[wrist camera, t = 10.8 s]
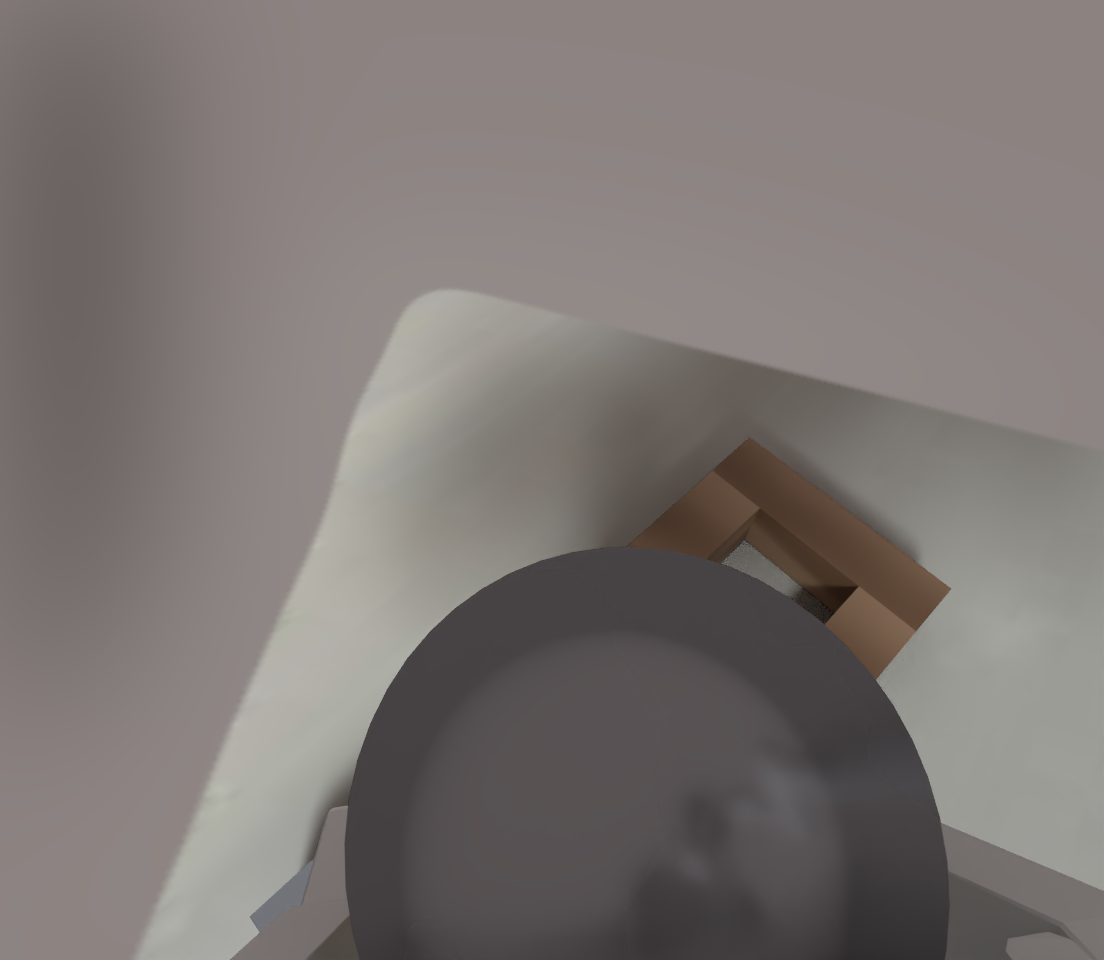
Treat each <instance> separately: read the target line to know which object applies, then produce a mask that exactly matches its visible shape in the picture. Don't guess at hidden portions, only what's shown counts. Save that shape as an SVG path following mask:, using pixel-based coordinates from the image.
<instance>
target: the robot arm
mask: <svg viewBox="0 0 1104 960" xmlns="http://www.w3.org/2000/svg"><path fill="white" fill-rule="evenodd" d="M347 811H348V806H341V807H334V808H332V809H331V810H330V811H329V812H328V813H327V815H326V818H325V822H324V825H323V828H322V832H321V835H320V839H319V842H318V846H317V849H316V853H315V856H314V860H313V863H312V867H311V870H310V874H309V877H308V881H307V884H306V888H305V891H304V895H303V898H302V902H301V905H300V906H294V907H288V908H286V909H285V910H284V911H283V912H282V913H281V914H280V915H279V916H278V917H276V918H275V919H274V920H273V921H272V922H271V923H270V924H269V925H268V926H267V927H265V928H264V929H263V930H262V931H261V932H260V933H259V934H258V935H257V936H256V937H254V938H253V939H252V940H251V941H250V942H249V943H248V944H247V945H246V946H245V947H244V948H242V949H241V950H240V951H239V952H238V953H237V954H236V955H235V956H234V957H233V958H231V959H230V960H360V959H359V956H358V952H357V948H356V945H355V941H354V938H353V934H352V928H351V921H350V915H349V908H348V901H347V894H346V888H345V847H344V842H345V832H346V822H347ZM941 827H942V833H943V838H944V844H945V850H946V856H947V863H948V882H949V901H950V909H949V923H948V937H947V951H946V956H945V960H1104V891H1102V890H1100V889H1097V888H1095V887H1093V886H1090V885H1088V884H1085V883H1083V882H1081V881H1078V880H1076V879H1074V878H1071V877H1069V876H1066V875H1064V874H1062V873H1059V872H1057V871H1054V870H1052V869H1050V868H1047V867H1045V866H1043V865H1040V864H1038V863H1035V862H1033V861H1031V860H1028V859H1026V858H1023V857H1021V856H1019V855H1016V854H1014V853H1011V852H1009V851H1007V850H1004V849H1002V848H1000V847H997V846H995V845H992V844H990V843H988V842H985V841H983V840H980V839H978V838H976V837H973V836H971V835H968V834H966V833H964V832H961V831H959V830H957V829H954V828H952V827H949V826H947V825H945V824H942V823H941Z"/></svg>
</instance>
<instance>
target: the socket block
mask: <svg viewBox="0 0 1104 960" xmlns="http://www.w3.org/2000/svg"><path fill="white" fill-rule="evenodd" d="M744 540H746V541H747V542H748V543H749V544H751V545H752V546H753V547H754V548H756V549H757V550H758V551H759V552H760V553H762V554H763V555H764V556H765V557H767V558H768V559H769V560H770V561H771V562H773V563H774V564H775V565H776V566H778V567H779V568H780V569H781V570H782V571H784V572H785V573H786V574H787V575H789V576H790V577H791V578H792V579H793V580H795V581H796V582H797V583H798V584H800V585H801V586H802V587H803V588H804V589H806V590H807V591H808V592H809V593H811V594H812V595H813V596H814V597H816V598H817V599H818V600H819V601H820V602H822V603H823V604H824V605H825V606H827V607H828V608H829V609H830V610H831V611H833V612H834V615H833V616H832V617H831V618H830V619H829V620H828V621H827V622H826V623H825V626H826V627H827V628H829V629H830V630H831V631H832V632H833V633H834V634H835V635H836V636H837V637H838V638H839V639H840V640H841V641H843V642H844V643H845V644H846V645H847V646H848V648H849V649H850V650H851V651H852V652H853V653H854V654H855V656H856V657H857V658H858V659H859V660H860V661H861V662H862V664H863V665H864V666H865V667H866V668H867V669H868V671H869V672H870V673H871V674H872V676H873V677H874V678H875V680H876V679H877V678H878V677H879V675H880V674H881V673H882V672H883V671H884V669H885V668H886V667H887V666H888V664H889V663H890V662H891V661H892V660H893V658H894V657H895V656H896V655H897V654H898V652H899V651H900V650H901V649H902V648H903V646H904V645H905V644H906V643H907V642H908V640H909V639H910V638H911V637H912V636H913V634H914V633H915V632H916V631H917V630H918V628H919V627H920V626H921V625H922V623H923V622H924V621H925V620H926V619H927V617H928V616H929V615H930V614H931V613H932V611H933V610H934V609H935V608H936V607H937V605H938V604H939V603H940V602H941V601H942V599H943V598H944V597H945V596H946V595H947V593H948V592H949V591H950V590H951V588H950V587H948V586H947V585H946V584H944V583H943V582H942V581H940V580H939V579H938V578H936V577H935V576H934V575H932V574H931V573H930V572H928V571H927V570H926V569H924V568H923V567H922V566H920V565H919V564H918V563H916V562H915V561H914V560H912V559H911V558H910V557H908V556H907V555H906V554H904V553H903V552H902V551H900V550H899V549H898V548H896V547H895V546H894V545H892V544H891V543H890V542H888V541H887V540H886V539H884V538H883V537H882V536H880V535H879V534H878V533H876V532H875V531H874V530H872V529H871V528H870V527H868V526H867V525H866V524H864V523H863V522H862V521H860V520H859V519H858V518H856V517H855V516H854V515H852V514H851V513H850V512H848V511H847V510H846V509H844V508H843V507H842V506H840V505H839V504H838V503H836V502H835V501H834V500H832V499H831V498H830V497H828V496H827V495H826V494H824V493H823V492H822V491H820V490H819V489H818V488H816V487H815V486H814V485H812V484H811V483H810V482H808V481H807V480H806V479H804V478H803V477H802V476H800V475H799V474H798V473H796V472H795V471H794V470H792V469H791V468H790V467H788V466H787V465H786V464H784V463H783V462H782V461H780V460H779V459H778V458H776V457H775V456H774V455H772V454H771V453H770V452H768V451H767V450H766V449H764V448H763V447H762V446H760V445H759V444H758V443H756V442H755V441H754V440H752V439H751V438H748V439H747V440H746V441H745V442H744V443H743V444H742V445H741V446H739V447H738V448H737V449H736V450H735V451H734V452H733V453H732V454H730V455H729V456H728V457H727V458H726V459H725V460H724V461H723V462H721V463H720V464H719V465H718V466H717V467H716V468H715V469H714V470H713V471H711V472H710V473H709V474H708V475H707V476H706V477H705V478H704V479H702V480H701V481H700V482H699V483H698V484H697V485H696V486H695V487H693V488H692V489H691V490H690V491H689V492H688V493H687V494H686V495H684V496H683V497H682V498H681V499H680V500H679V501H678V502H677V503H675V504H674V505H673V506H672V507H671V508H670V509H669V510H668V511H666V512H665V513H664V514H663V515H662V516H661V517H660V518H659V519H657V520H656V521H655V522H654V523H653V524H652V525H651V526H650V527H648V528H647V529H646V530H645V531H644V532H643V533H642V534H641V535H639V536H638V537H637V538H636V539H635V540H634V541H633V542H632V543H630V544H629V545H628V546H627V547H638V548H649V549H660V550H669V551H674V552H678V553H683V554H688V555H693V556H698V557H701V558H704V559H707V560H710V561H713V562H717V563H721V562H722V561H723V560H724V559H725V558H726V557H727V556H728V555H729V554H730V553H731V552H732V551H734V550H735V549H736V548H737V547H738V546H739V545H740V544H741V543H742V542H743V541H744Z"/></svg>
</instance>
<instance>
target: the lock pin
mask: <svg viewBox="0 0 1104 960" xmlns="http://www.w3.org/2000/svg"><path fill="white" fill-rule="evenodd" d="M344 847H345V888H346V894H347V901H348V908H349V915H350V921H351V928H352V934H353V938H354V941H355V945H356V948H357V952H358V956H359V959H360V960H945V956H946V951H947V937H948V923H949V909H950V901H949V882H948V863H947V856H946V850H945V844H944V838H943V833H942V827H941V821H940V817H939V813H938V810H937V806H936V803H935V799H934V796H933V793H932V789H931V786H930V782H929V779H928V776H927V774H926V771H925V769H924V767H923V764H922V762H921V759H920V757H919V755H918V752H917V750H916V748H915V745H914V743H913V740H912V738H911V737H910V735H909V733H908V731H907V729H906V728H905V726H904V724H903V722H902V720H901V718H900V717H899V715H898V713H897V711H896V709H895V708H894V706H893V704H892V703H891V701H890V700H889V698H888V697H887V696H886V694H885V693H884V691H883V690H882V688H881V687H880V686H879V684H878V683H877V681H876V680H875V678H874V677H873V676H872V674H871V673H870V672H869V671H868V669H867V668H866V667H865V666H864V665H863V664H862V662H861V661H860V660H859V659H858V658H857V657H856V656H855V654H854V653H853V652H852V651H851V650H850V649H849V648H848V646H847V645H846V644H845V643H844V642H843V641H841V640H840V639H839V638H838V637H837V636H836V635H835V634H834V633H833V632H832V631H831V630H830V629H829V628H827V627H826V626H825V625H824V624H823V623H822V622H821V621H820V620H819V619H817V618H816V617H815V616H813V615H812V614H811V613H809V612H808V611H807V610H805V609H804V608H803V607H801V606H800V605H799V604H797V603H796V602H795V601H793V600H792V599H791V598H789V597H787V596H786V595H784V594H782V593H781V592H779V591H777V590H775V589H774V588H772V587H770V586H769V585H767V584H765V583H764V582H762V581H760V580H758V579H756V578H753V577H751V576H749V575H747V574H745V573H742V572H740V571H738V570H736V569H734V568H731V567H729V566H726V565H723V564H720V563H717V562H713V561H710V560H707V559H704V558H701V557H698V556H693V555H688V554H683V553H678V552H674V551H669V550H660V549H649V548H638V547H624V548H600V549H593V550H586V551H579V552H572V553H568V554H564V555H561V556H557V557H553V558H550V559H546V560H542V561H539V562H537V563H534V564H532V565H529V566H527V567H524V568H522V569H519V570H517V571H514V572H512V573H510V574H508V575H506V576H504V577H503V578H501V579H499V580H497V581H495V582H493V583H492V584H490V585H488V586H486V587H484V588H483V589H481V590H480V591H478V592H477V593H476V594H474V595H473V596H471V597H470V598H469V599H467V600H466V601H465V602H463V603H462V604H460V605H459V606H458V607H456V608H455V609H454V610H453V611H452V612H451V613H450V614H448V615H447V616H446V617H445V618H444V619H443V620H442V621H441V622H440V623H439V624H438V625H437V626H436V627H434V628H433V629H432V630H431V631H430V632H429V633H428V635H427V636H426V637H425V638H424V639H423V641H422V642H421V643H420V644H419V645H418V646H417V648H416V649H415V650H414V651H413V652H412V654H411V655H410V656H409V657H408V658H407V660H406V661H405V663H404V664H403V666H402V667H401V669H400V670H399V672H398V674H397V675H396V677H395V678H394V680H393V681H392V683H391V684H390V686H389V687H388V689H387V691H386V693H385V695H384V697H383V699H382V701H381V703H380V705H379V707H378V709H377V711H376V713H375V715H374V717H373V719H372V721H371V723H370V726H369V729H368V732H367V735H366V737H365V740H364V743H363V746H362V749H361V752H360V754H359V757H358V760H357V765H356V769H355V774H354V778H353V783H352V787H351V792H350V796H349V801H348V811H347V822H346V832H345V842H344Z"/></svg>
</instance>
